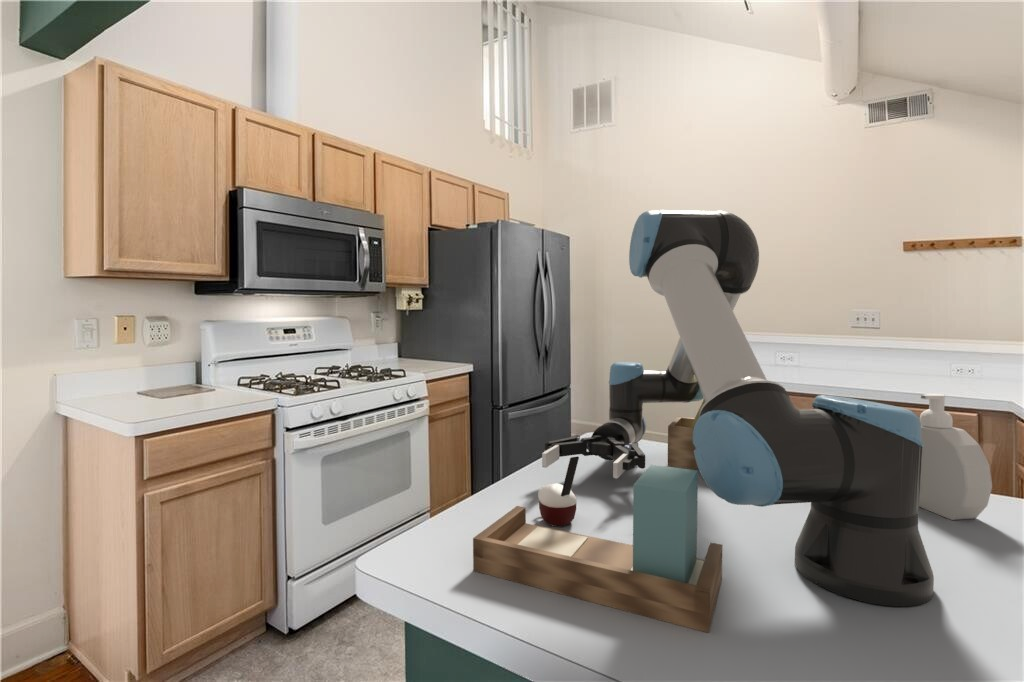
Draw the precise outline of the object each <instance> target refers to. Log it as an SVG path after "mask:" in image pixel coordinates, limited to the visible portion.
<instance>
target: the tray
mask: <svg viewBox="0 0 1024 682" xmlns="http://www.w3.org/2000/svg"><path fill="white" fill-rule="evenodd" d="M526 508H527V507H525V506H520V505H516V506H515V507H514V508H512V509H511V510H509V511H508V512H507V513H505V514H504V515H502V516H501V517H500V518H498V519H497V520H496V521H494V522H493V523H492V524H490V525H489V526H487V527H486V528H485V529H483V530H482V531H480V532H479V533H478V534H477V535H475V536H474V537H472V559H473V562H472V563H473V564H472V566H473V567H472V568H473V569H472V570H473V571H474V572H477V573H482V574H485V575H487V576H492V577H496V578H499V579H504V580H508V581H511V582H514V583H519V584H523V585H525V586H526V585H527V586H530V587H534V588H537V589H542V590H545V591H549V592H553V593H557V594H561V595H564V596H568V597H571V598H575V599H580V600H583V601H587V602H591V603H594V604H598V605H601V606H606V607H609V608H614V609H618V610H621V611H625V612H628V613H632V614H636V615H640V616H644V617H647V618H651V619H654V620H655V619H656V620H658V621H659V620H660V621H663V622H667V623H670V624H674V625H678V626H682V627H685V628H689V629H692V630H696V631H701V632H705V633H707V634H709V632H710V628H711V625H712V620H713V615H714V612H715V608H716V604H717V599H718V596H719V592H720V588H721V584H722V580H723V544H720V543H715V542H709V546H708V548H707V550H706V551H707V552H706V554H705V557H704V559H702V558H697V557H696V563H695V566H694V569H693V572H692V574H691V577H690V580H689V583H685V582H680V581H676V580H672V579H667V578H663V577H658V576H654V575H650V574H645V573H641V572H636V571H633V544H630V543H624V542H619V541H615V540H611V539H610V540H609V539H605V538H599V537H594V536H591V535H585V534H581V533H580V534H579V533H575V532H570V531H566V530H559V529H557V528H555V529H554V528H550V527H546V526H541V525H536V524H531V523H527V517H526V515H527V514H526V513H527V512H526V511H527V510H526Z"/></svg>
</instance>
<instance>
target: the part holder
mask: <svg viewBox="0 0 1024 682" xmlns="http://www.w3.org/2000/svg"><path fill="white" fill-rule="evenodd" d="M694 419H695V417H683V416H677V417H676V418H675V419H673V420H672V421H671V423H670V424H668V425H667V467H674V468H682V469H689V470H697V471H699V468H698V466H697V463H696V459H695V455H694V450H695V449H696V448H695V445H694V444H693V431H694V428H692V427H691V425H692V423H693V421H694Z"/></svg>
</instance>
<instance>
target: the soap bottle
mask: <svg viewBox="0 0 1024 682" xmlns="http://www.w3.org/2000/svg"><path fill="white" fill-rule="evenodd" d="M945 397H946V395H945V394H939V393H927V394H921V395H920V399H921V400H928V401H929V403H928V405H929V406H928V409H925V410H923V411H922V412H921V413H920V415H919V419H920V422H921V441H922V442H923V448H922V459H921V476H920V493H919V508H921V509H924V510H926V511H929V512H931V513H933V514H936V515H938V516H941V517H943V518H945V519H948V520H949V521H954V520H955V521H957V520H970V519H977V517H979V515H980V514H982V512H984V510H985V509H986V508H987V507H988V504H989V500H990V497H991V494H992V490H993V482H992V475H991V474H992V473H991V467H990V464H989V461H988V459H987V457H986V455H985V453H984V451H983V449H982V447H981V445H980V444H979V442H977V441H976V440H975V439H974V438H973V437H972V435H971V434H969V433H968V432H967V431H966V430H965V429H963V428H958V427H953V421H954V419H953V416H952V415H951V413H949V412H947V411H945V400H946V399H945Z"/></svg>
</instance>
